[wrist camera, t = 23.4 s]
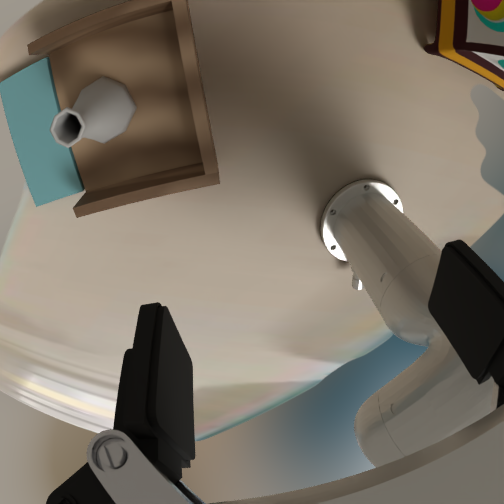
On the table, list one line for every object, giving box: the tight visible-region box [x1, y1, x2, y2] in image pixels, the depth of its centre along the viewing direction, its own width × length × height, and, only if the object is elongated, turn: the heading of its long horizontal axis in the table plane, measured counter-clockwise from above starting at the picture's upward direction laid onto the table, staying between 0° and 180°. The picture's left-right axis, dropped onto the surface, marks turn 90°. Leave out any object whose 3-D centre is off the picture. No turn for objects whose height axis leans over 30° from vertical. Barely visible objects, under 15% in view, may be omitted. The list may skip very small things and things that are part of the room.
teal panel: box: [0, 57, 85, 207], centre depth 28 cm, size 17×1×8 cm
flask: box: [50, 76, 137, 148], centre depth 24 cm, size 7×7×10 cm
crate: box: [28, 0, 220, 218], centre depth 27 cm, size 20×16×6 cm
